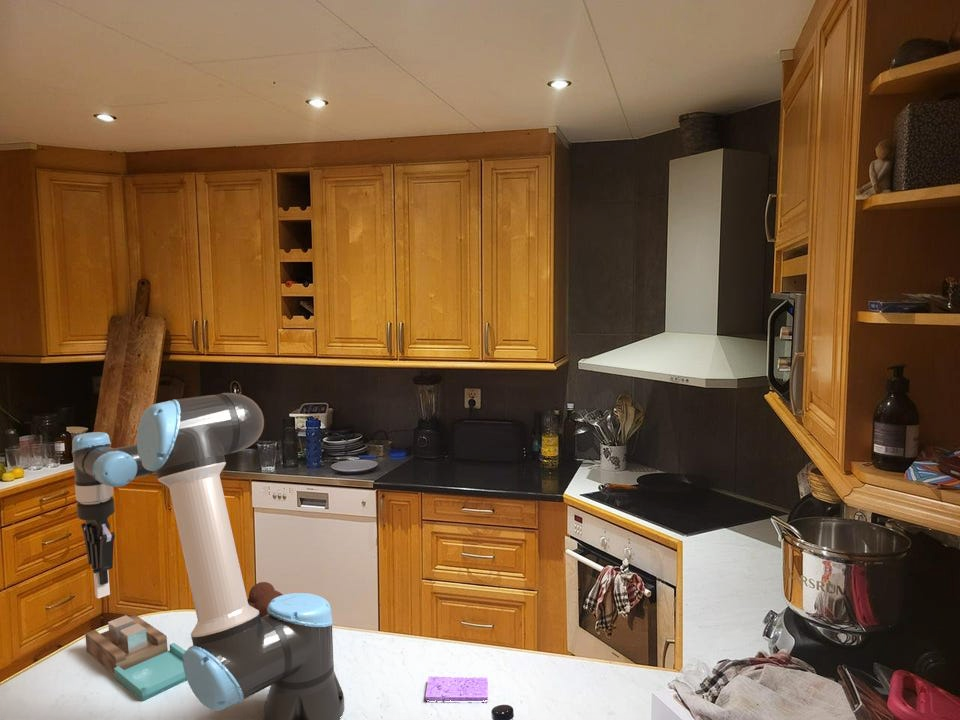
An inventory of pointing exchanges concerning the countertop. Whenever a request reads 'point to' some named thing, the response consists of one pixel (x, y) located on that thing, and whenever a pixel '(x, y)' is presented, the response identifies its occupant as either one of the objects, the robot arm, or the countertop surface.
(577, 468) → the countertop surface
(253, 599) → the ice cream bowl
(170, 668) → the tray
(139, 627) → the near block
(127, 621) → the far block
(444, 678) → the sponges
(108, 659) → the groove board
